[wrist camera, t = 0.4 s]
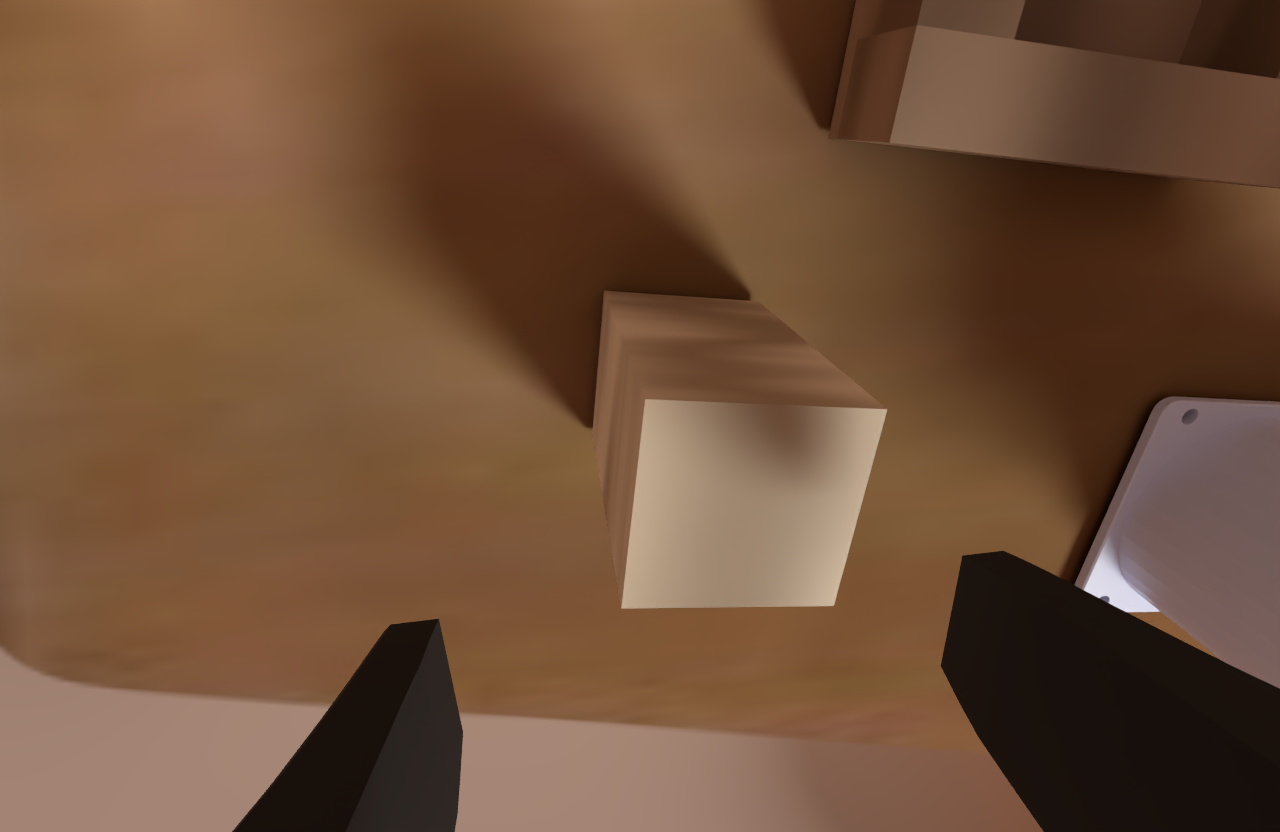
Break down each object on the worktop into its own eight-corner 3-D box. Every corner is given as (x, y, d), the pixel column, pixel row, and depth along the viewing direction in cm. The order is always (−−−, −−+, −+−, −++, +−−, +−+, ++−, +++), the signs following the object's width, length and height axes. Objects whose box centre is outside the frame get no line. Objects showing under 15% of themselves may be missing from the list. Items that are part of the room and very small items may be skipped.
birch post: (757, 301, 17) (887, 409, 11) (733, 440, 19) (833, 605, 12) (604, 290, 16) (645, 399, 10) (592, 435, 18) (621, 608, 12)
